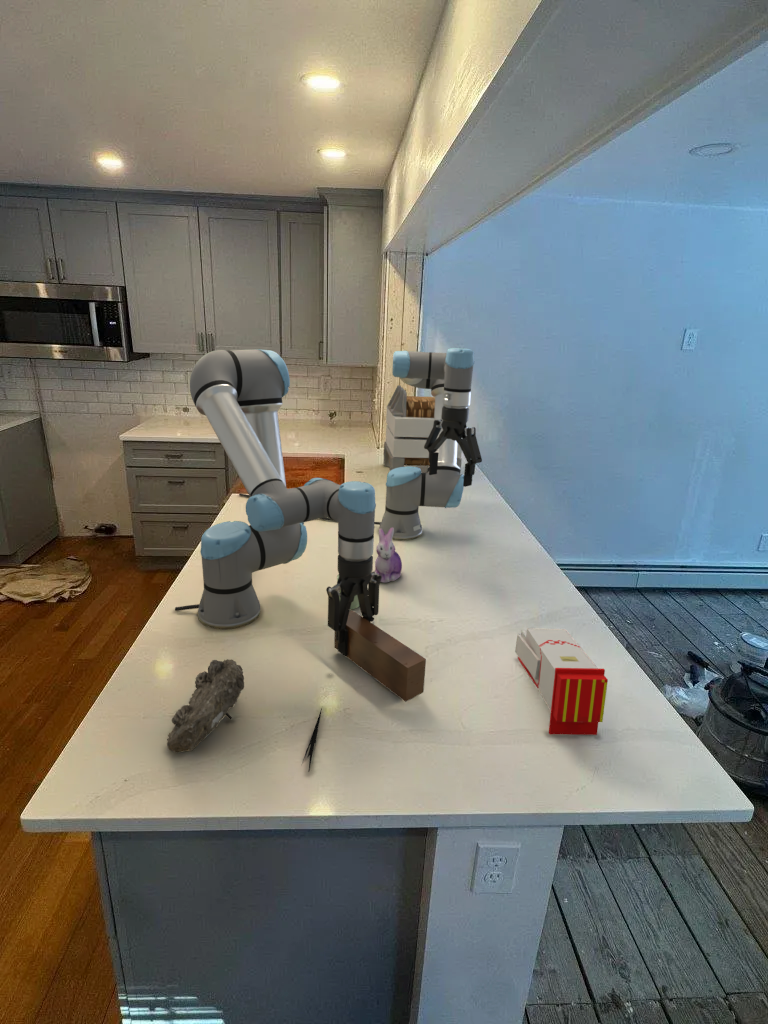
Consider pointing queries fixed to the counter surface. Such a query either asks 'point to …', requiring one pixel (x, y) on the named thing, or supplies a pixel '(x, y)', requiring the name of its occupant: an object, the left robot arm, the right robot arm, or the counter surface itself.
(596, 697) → the toy
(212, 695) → the fossil
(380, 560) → the figurine
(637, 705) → the counter surface
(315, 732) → the feather
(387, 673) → the walnut box
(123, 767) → the counter surface
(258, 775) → the counter surface
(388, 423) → the transformer
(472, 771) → the counter surface
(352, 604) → the pale green cylinder
